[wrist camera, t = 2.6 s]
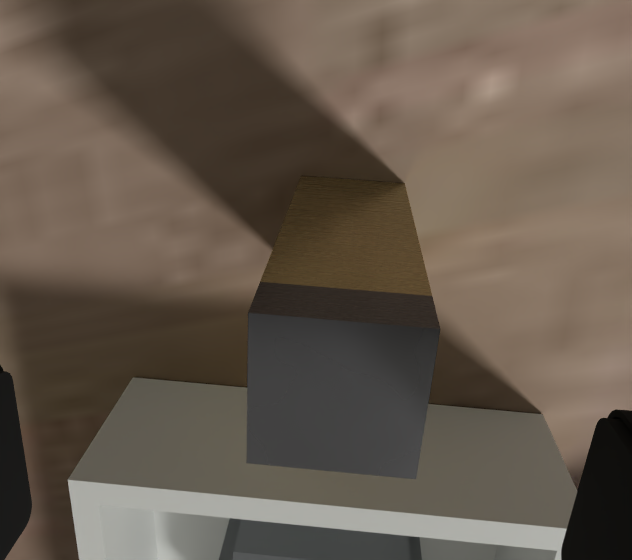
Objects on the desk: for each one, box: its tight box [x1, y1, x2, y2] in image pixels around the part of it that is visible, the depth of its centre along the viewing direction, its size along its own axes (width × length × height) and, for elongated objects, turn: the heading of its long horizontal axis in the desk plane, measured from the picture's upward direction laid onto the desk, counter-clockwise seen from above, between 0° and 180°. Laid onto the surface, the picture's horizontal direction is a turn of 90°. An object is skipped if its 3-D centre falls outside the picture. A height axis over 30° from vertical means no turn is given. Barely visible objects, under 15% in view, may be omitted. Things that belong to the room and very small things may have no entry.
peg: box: [246, 176, 440, 479], centre depth 14 cm, size 3×3×9 cm
